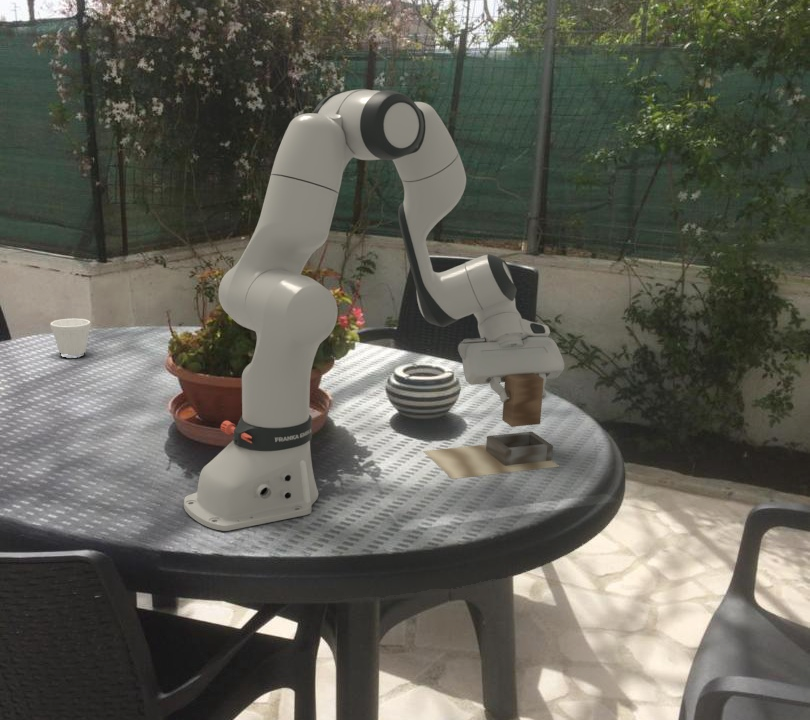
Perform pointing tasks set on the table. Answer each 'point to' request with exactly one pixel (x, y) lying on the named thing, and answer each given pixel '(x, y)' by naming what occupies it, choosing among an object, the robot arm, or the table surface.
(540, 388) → the wooden block
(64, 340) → the cup
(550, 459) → the floor panel
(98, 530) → the table surface
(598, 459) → the table surface
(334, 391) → the table surface
